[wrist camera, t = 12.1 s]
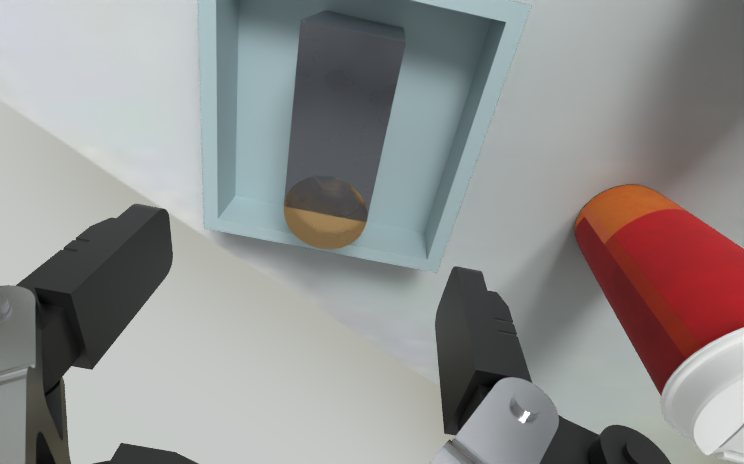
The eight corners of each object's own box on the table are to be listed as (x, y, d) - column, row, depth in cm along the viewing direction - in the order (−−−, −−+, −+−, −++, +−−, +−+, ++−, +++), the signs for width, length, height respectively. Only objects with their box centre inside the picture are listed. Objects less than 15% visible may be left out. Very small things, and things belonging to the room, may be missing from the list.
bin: (230, -64, 20) (195, -74, 16) (509, 1, 20) (531, 5, 17) (228, 197, 27) (203, 228, 24) (431, 237, 28) (436, 272, 25)
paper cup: (633, 281, 29) (797, 490, 17) (535, 252, 28) (636, 450, 16) (713, 187, 25) (1000, 375, 13) (602, 149, 24) (800, 313, 12)
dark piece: (303, 188, 25) (280, 240, 20) (325, 9, 20) (300, 19, 15) (366, 201, 26) (359, 255, 21) (403, 27, 20) (405, 43, 15)
